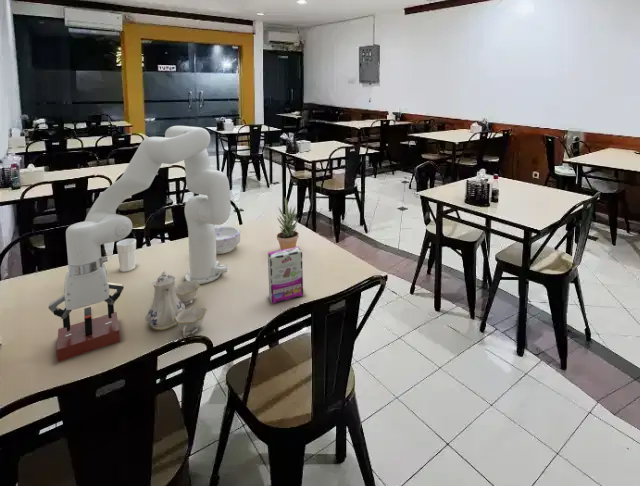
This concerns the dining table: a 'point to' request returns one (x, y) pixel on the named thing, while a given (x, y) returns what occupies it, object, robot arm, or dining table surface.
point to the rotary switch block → (87, 337)
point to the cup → (126, 254)
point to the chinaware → (174, 305)
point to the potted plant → (287, 229)
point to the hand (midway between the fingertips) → (89, 322)
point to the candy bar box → (285, 274)
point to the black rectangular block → (88, 321)
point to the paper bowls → (226, 239)
